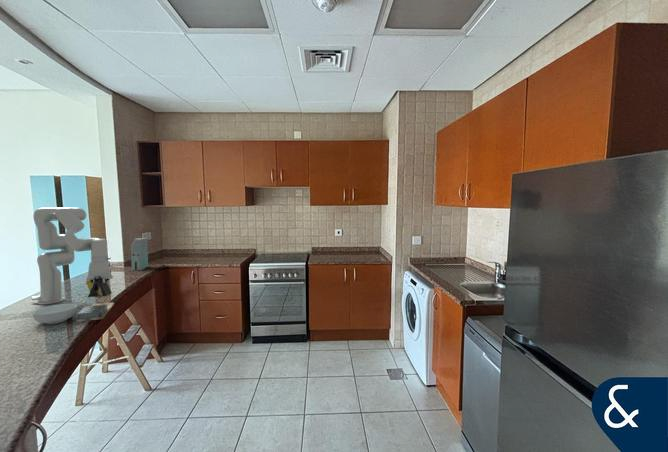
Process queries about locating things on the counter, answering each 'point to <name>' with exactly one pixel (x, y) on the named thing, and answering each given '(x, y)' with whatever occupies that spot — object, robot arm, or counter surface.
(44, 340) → the counter surface
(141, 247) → the device
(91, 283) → the plant pot
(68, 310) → the cereal bowl
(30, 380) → the counter surface
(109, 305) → the board
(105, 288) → the door stopper
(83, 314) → the housing
